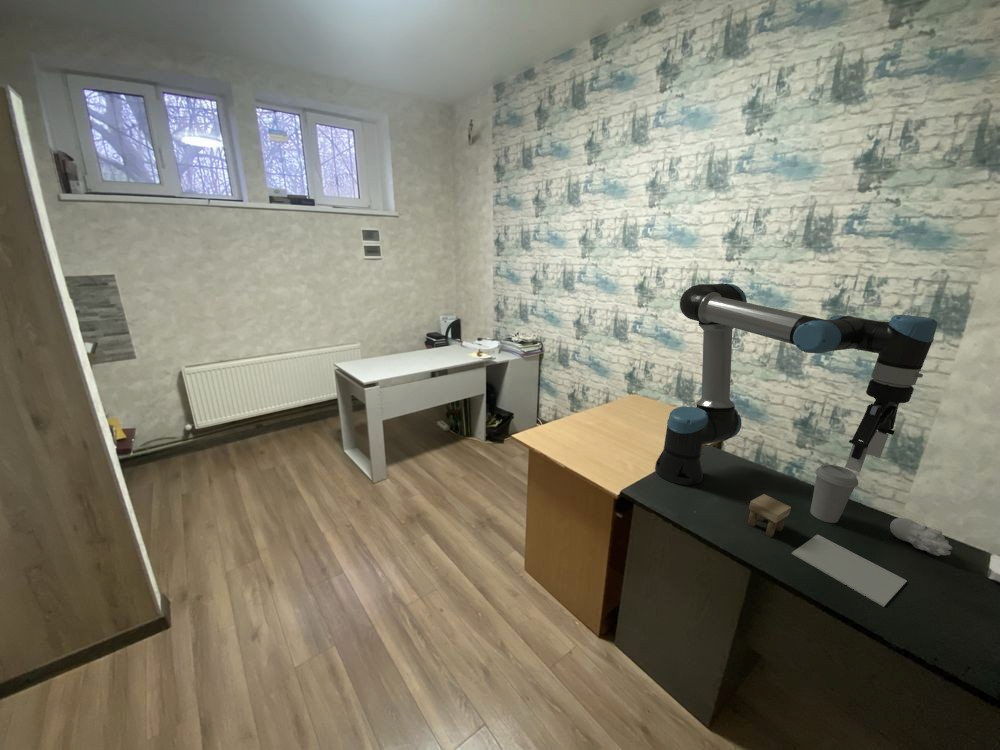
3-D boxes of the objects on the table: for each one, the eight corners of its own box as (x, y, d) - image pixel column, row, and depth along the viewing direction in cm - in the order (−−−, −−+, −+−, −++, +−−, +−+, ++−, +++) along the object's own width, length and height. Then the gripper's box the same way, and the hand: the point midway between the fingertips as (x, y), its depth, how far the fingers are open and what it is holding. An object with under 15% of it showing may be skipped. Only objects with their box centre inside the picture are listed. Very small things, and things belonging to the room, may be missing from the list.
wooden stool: (745, 523, 110) (750, 501, 108) (758, 515, 114) (764, 493, 112) (771, 538, 105) (777, 515, 102) (784, 530, 108) (791, 507, 106)
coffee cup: (853, 529, 109) (869, 482, 105) (814, 523, 111) (829, 478, 106) (832, 508, 118) (846, 464, 114) (797, 503, 120) (810, 460, 115)
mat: (791, 553, 99) (791, 552, 99) (816, 535, 106) (817, 534, 106) (883, 607, 85) (884, 605, 84) (906, 581, 91) (907, 580, 91)
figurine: (901, 520, 109) (963, 546, 98) (888, 538, 109) (948, 567, 98) (895, 508, 106) (958, 534, 95) (881, 528, 106) (942, 556, 95)
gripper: (896, 396, 81) (863, 483, 88) (930, 379, 94) (899, 456, 100) (851, 386, 87) (824, 468, 94) (888, 370, 100) (862, 444, 106)
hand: (862, 462), depth 97 cm, fingers open, 13 cm apart
